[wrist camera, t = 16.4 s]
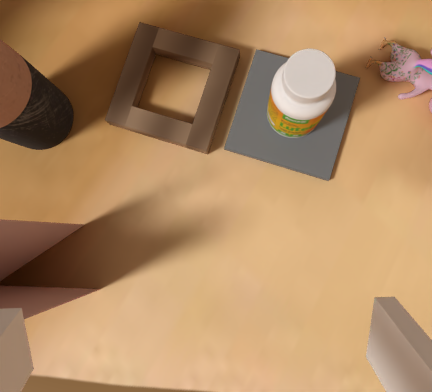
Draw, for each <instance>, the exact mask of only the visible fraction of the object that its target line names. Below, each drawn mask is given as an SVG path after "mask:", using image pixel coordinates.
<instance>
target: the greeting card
mask: <svg viewBox="0 0 432 392" xmlns="http://www.w3.org/2000/svg"><path fill="white" fill-rule="evenodd" d="M82 226H84V225H82V224H66V223H49V222H33V221H16V220H0V281H1V280H3V279H4V278H6V277H7V276H9V275H10V274H12V273H13V272H15V271H16V270H18V269H19V268H21V267H22V266H24V265H25V264H27V263H28V262H30V261H31V260H33V259H34V258H36V257H37V256H39V255H40V254H42V253H43V252H45V251H46V250H48V249H49V248H51V247H52V246H54V245H55V244H57V243H58V242H60V241H61V240H63V239H64V238H66V237H67V236H69V235H70V234H72V233H73V232H75V231H76V230H78V229H79V228H81V227H82ZM97 290H100V289H85V288H57V287H29V286H0V309H7V308H22V312H23V317H24V319H26V318H28V317H31V316H33V315H36V314H39V313H41V312H44V311H46V310H49V309H51V308H54V307H56V306H59V305H62V304H64V303H67V302H69V301H72V300H74V299H77V298H80V297H82V296H85V295H87V294H90V293H92V292H95V291H97Z"/></svg>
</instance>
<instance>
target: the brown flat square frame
mask: <svg viewBox="0 0 432 392" xmlns="http://www.w3.org/2000/svg"><path fill="white" fill-rule="evenodd" d="M156 54H157V55H160V56H164V57H167V58H171V59H174V60H178V61H181V62H185V63H189V64H192V65H196V66H199V67H203V68H206V69H210V73H209V76H208V79H207V82H206V85H205V88H204V91H203V94H202V97H201V100H200V103H199V106H198V109H197V112H196V115H195V118H194V121H193V124H190V123H187V122H184V121H180V120H177V119H173V118H170V117H167V116H163V115H160V114H157V113H153V112H150V111H147V110H143V109H140V108H137V107H138V104H139V101H140V98H141V96H142V93H143V90H144V87H145V84H146V81H147V78H148V75H149V73H150V70H151V67H152V64H153V61H154V58H155V55H156ZM239 58H240V50H239V49H235V48H231V47H228V46H224V45H221V44H217V43H213V42H210V41H206V40H202V39H199V38H195V37H192V36H188V35H184V34H181V33H177V32H173V31H170V30H166V29H163V28H159V27H155V26H152V25H148V24H144V23H141V22H139V25H138V28H137V31H136V34H135V36H134V39H133V42H132V45H131V48H130V51H129V53H128V56H127V59H126V62H125V65H124V68H123V70H122V73H121V76H120V79H119V82H118V84H117V87H116V90H115V93H114V96H113V99H112V101H111V104H110V107H109V110H108V113H107V116H106V118H105V121H107V122H108V123H109V124H110V125H113V126H117V127H120V128H123V129H126V130H130V131H133V132H136V133H140V134H143V135H146V136H149V137H153V138H156V139H159V140H162V141H166V142H169V143H172V144H176V145H179V146H182V147H185V148H189V149H192V150H195V151H198V152H202V153H205V154H208V152H209V149H210V146H211V143H212V140H213V137H214V134H215V131H216V128H217V125H218V122H219V119H220V116H221V113H222V110H223V107H224V104H225V101H226V98H227V95H228V92H229V88H230V85H231V82H232V79H233V76H234V73H235V70H236V67H237V64H238V61H239Z"/></svg>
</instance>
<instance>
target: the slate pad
mask: <svg viewBox="0 0 432 392" xmlns="http://www.w3.org/2000/svg"><path fill="white" fill-rule="evenodd" d="M288 59H289V58H286V57H282V56H279V55H275V54H271V53H268V52H264V51H260V50H257V49H256V52H255V55H254V58H253V61H252V64H251V68H250V71H249V74H248V77H247V80H246V83H245V86H244V89H243V92H242V95H241V98H240V101H239V104H238V107H237V110H236V114H235V117H234V120H233V123H232V126H231V129H230V132H229V135H228V138H227V141H226V144H225V147H224V150H228V151H231V152H234V153H238V154H241V155H244V156H248V157H251V158H254V159H257V160H261V161H264V162H267V163H271V164H274V165H277V166H281V167H284V168H287V169H290V170H294V171H297V172H300V173H304V174H307V175H310V176H314V177H317V178H320V179H323V180H327V181H329V179H330V176H331V173H332V169H333V166H334V163H335V159H336V156H337V153H338V150H339V146H340V143H341V140H342V136H343V133H344V130H345V126H346V123H347V120H348V116H349V113H350V110H351V106H352V103H353V100H354V96H355V93H356V90H357V86H358V83H359V80H360V78H359V77H355V76H351V75H348V74H344V73H340V72H337V71H336V77H335V80H336V94H335V97H334V100H333V102H332V104H331V105H330V107H329V109H328V110H327V111H326V113H325V114H324V116H323V117H322V119H321V120H320V122H319V123H318V124H317V126H316V127H315V128H314V129H313V130H312V131H311V132H310V133H309V134H307V135H305V136H302V137H299V138H288V137H285V136H282V135H280V134H278V133H277V132H276V131H275V130H274V129H273V128H272V127H271V125H270V123H269V121H268V118H267V106H268V101H269V96H270V90H271V85H272V81H273V78H274V76H275V74H276V72H277V71H278V69H279V68H280V67H281V66H282V65H283V64H284V63H286V62H287V61H288Z"/></svg>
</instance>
